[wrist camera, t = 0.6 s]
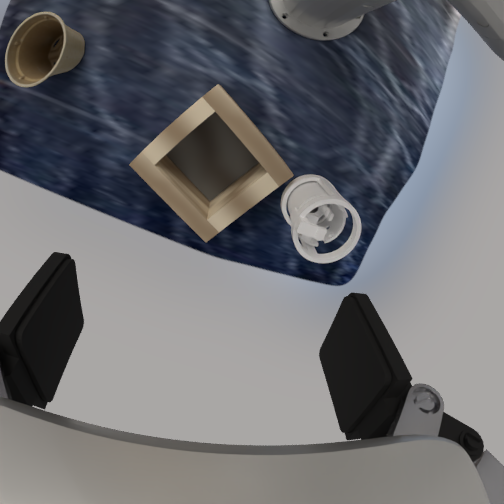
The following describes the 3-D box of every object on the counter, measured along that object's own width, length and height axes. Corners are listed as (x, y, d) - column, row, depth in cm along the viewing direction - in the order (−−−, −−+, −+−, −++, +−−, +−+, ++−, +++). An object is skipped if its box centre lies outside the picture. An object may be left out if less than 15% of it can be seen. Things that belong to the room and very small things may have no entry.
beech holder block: (220, 85, 34) (218, 84, 28) (283, 160, 40) (294, 175, 34) (145, 151, 38) (129, 164, 32) (209, 218, 43) (205, 242, 37)
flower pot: (82, 89, 32) (50, 92, 25) (33, 79, 30) (-3, 82, 22) (106, 25, 28) (78, 14, 21) (53, 18, 26) (19, 11, 18)
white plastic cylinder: (286, 155, 39) (314, 192, 26) (332, 174, 41) (377, 218, 28) (267, 202, 43) (283, 258, 30) (312, 217, 44) (344, 276, 31)
